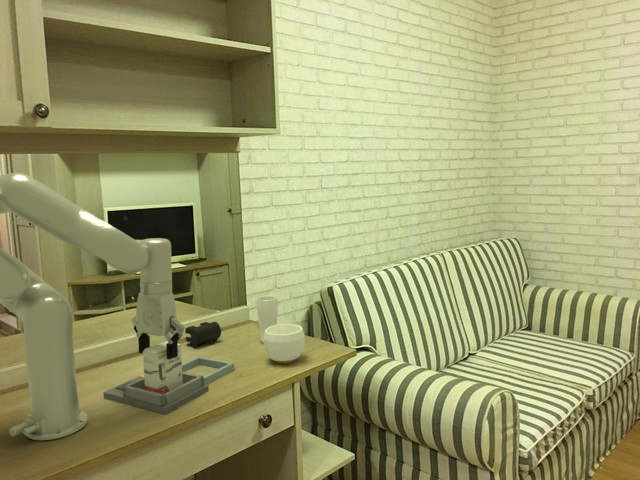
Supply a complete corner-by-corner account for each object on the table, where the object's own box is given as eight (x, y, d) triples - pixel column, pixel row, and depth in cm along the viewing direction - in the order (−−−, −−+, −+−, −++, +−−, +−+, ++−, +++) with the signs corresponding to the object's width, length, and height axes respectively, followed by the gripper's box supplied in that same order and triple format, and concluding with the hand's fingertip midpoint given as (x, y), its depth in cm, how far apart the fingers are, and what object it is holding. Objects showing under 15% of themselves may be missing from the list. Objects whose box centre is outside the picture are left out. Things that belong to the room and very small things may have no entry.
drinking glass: (254, 341, 174) (252, 298, 172) (270, 336, 178) (268, 294, 177) (266, 345, 169) (264, 301, 167) (282, 341, 173) (281, 297, 172)
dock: (166, 414, 121) (164, 398, 121) (103, 397, 132) (102, 382, 131) (208, 390, 134) (207, 376, 134) (148, 377, 145) (147, 363, 144)
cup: (256, 361, 155) (254, 330, 154) (286, 350, 164) (285, 321, 163) (283, 370, 146) (282, 338, 145) (314, 359, 155) (312, 328, 154)
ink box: (158, 399, 126) (154, 352, 125) (144, 395, 129) (141, 349, 128) (184, 386, 134) (181, 342, 132) (171, 383, 136) (168, 339, 135)
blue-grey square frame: (202, 386, 137) (202, 379, 137) (165, 378, 143) (165, 371, 143) (234, 369, 149) (234, 363, 148) (199, 362, 155) (198, 356, 155)
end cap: (198, 350, 167) (197, 329, 167) (185, 346, 172) (183, 326, 171) (222, 342, 175) (221, 322, 174) (208, 338, 179) (207, 319, 179)
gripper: (120, 287, 129) (122, 353, 131) (170, 294, 121) (172, 364, 122) (143, 282, 136) (145, 345, 137) (193, 288, 127) (194, 356, 129)
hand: (158, 354), depth 130 cm, fingers open, 9 cm apart
